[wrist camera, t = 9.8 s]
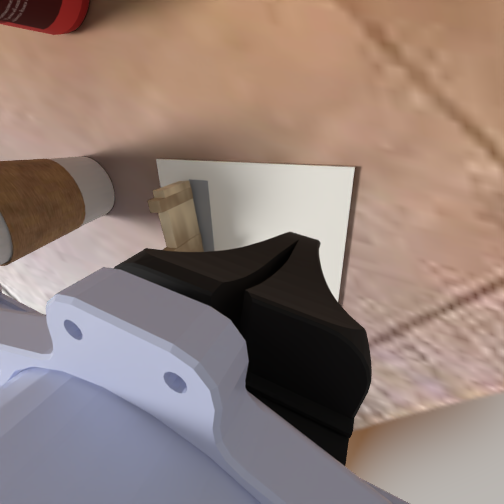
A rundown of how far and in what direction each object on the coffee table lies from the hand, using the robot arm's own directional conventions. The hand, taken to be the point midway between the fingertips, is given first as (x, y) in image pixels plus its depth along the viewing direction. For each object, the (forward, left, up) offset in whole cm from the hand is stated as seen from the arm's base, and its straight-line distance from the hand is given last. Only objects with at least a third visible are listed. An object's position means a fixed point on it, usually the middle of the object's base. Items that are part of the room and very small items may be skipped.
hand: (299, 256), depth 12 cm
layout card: (-8, +7, -10) cm, 15 cm away
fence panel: (-5, +12, -9) cm, 15 cm away
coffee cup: (-1, +24, -10) cm, 26 cm away
